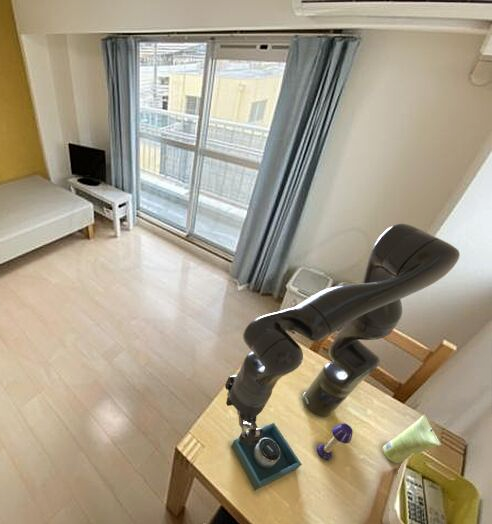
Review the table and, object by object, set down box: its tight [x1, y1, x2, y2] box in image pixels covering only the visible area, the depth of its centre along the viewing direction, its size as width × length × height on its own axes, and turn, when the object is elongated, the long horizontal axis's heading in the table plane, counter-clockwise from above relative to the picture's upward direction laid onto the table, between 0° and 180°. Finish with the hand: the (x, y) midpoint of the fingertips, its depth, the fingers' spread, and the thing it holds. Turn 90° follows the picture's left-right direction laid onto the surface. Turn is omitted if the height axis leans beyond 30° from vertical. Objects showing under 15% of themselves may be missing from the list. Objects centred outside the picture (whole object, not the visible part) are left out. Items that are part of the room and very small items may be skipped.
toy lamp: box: [316, 422, 354, 461], centre depth 86 cm, size 5×5×17 cm
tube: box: [382, 414, 442, 464], centre depth 85 cm, size 6×5×20 cm
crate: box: [230, 422, 303, 492], centre depth 88 cm, size 15×12×5 cm
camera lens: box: [253, 438, 280, 468], centre depth 87 cm, size 6×6×8 cm
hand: (236, 420), depth 75 cm, fingers open, 8 cm apart
